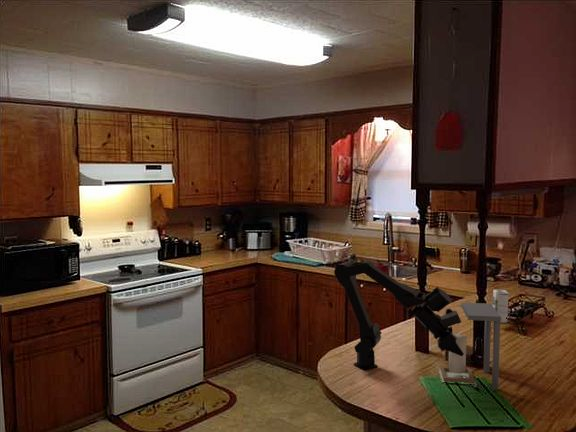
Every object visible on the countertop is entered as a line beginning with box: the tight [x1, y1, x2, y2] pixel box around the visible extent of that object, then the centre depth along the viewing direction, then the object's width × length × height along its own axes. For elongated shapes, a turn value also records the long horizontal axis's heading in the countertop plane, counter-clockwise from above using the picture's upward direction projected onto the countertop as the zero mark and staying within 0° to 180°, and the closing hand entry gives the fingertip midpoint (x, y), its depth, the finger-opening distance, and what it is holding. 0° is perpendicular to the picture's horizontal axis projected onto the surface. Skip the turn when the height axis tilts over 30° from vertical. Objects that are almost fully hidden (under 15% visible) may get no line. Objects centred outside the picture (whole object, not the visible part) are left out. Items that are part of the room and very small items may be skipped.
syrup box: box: [492, 289, 509, 324], centre depth 240 cm, size 6×6×14 cm
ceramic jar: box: [447, 333, 467, 374], centre depth 176 cm, size 6×6×12 cm
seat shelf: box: [438, 302, 501, 391], centre depth 175 cm, size 18×16×24 cm
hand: (461, 352), depth 176 cm, fingers closed on ceramic jar, 6 cm apart
